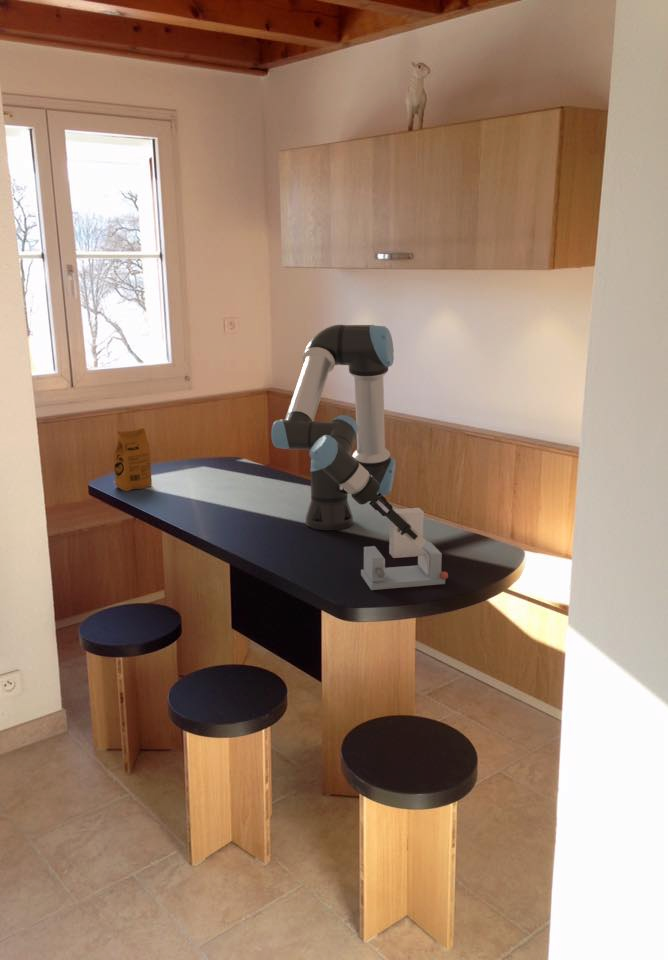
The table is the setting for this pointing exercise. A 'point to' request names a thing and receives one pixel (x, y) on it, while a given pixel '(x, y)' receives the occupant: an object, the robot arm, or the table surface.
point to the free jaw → (374, 564)
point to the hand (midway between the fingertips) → (420, 541)
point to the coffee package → (132, 460)
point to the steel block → (402, 543)
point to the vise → (413, 572)
